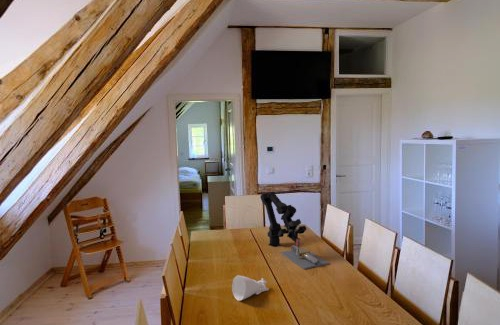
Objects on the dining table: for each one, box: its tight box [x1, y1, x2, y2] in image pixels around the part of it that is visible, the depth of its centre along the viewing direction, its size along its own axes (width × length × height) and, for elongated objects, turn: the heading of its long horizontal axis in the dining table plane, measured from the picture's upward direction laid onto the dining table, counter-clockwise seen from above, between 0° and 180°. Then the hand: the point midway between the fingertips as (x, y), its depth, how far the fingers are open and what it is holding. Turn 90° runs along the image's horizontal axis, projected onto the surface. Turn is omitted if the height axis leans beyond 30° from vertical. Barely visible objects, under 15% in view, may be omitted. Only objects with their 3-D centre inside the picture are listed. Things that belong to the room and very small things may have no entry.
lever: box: [295, 237, 301, 257], centre depth 202 cm, size 2×3×12 cm
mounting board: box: [280, 247, 330, 270], centre depth 205 cm, size 28×18×1 cm, turn 23°
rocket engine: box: [231, 274, 270, 302], centre depth 161 cm, size 12×12×18 cm
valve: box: [291, 244, 319, 265], centre depth 205 cm, size 26×6×5 cm, turn 23°
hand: (297, 243), depth 203 cm, fingers closed, pressing on lever
